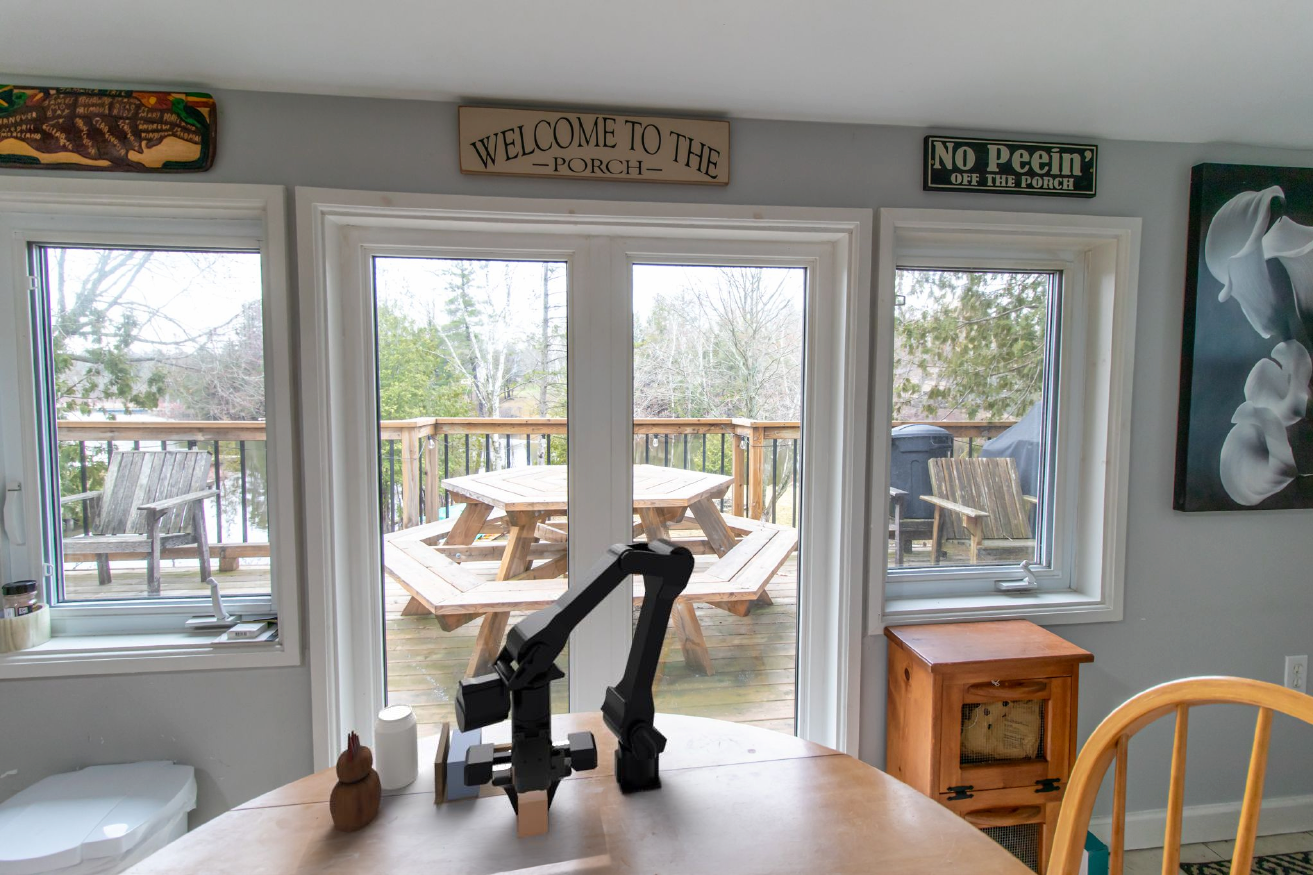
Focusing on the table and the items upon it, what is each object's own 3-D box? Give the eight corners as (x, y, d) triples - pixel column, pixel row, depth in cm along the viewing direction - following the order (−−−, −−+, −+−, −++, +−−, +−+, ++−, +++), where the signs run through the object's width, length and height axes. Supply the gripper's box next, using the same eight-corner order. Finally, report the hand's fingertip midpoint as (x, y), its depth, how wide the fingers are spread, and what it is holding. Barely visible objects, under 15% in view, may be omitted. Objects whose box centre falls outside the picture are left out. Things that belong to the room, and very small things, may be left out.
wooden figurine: (358, 844, 84) (354, 742, 83) (323, 837, 85) (318, 737, 84) (389, 810, 91) (386, 715, 89) (355, 805, 92) (351, 711, 90)
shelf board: (548, 751, 105) (547, 710, 105) (551, 793, 95) (551, 748, 94) (442, 765, 101) (441, 722, 101) (433, 810, 91) (432, 763, 90)
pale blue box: (482, 759, 101) (481, 725, 101) (478, 795, 92) (477, 758, 92) (454, 763, 100) (453, 729, 100) (448, 800, 91) (447, 762, 91)
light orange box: (545, 796, 94) (544, 760, 93) (547, 839, 85) (547, 799, 85) (518, 800, 93) (518, 763, 92) (518, 844, 84) (518, 803, 84)
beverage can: (422, 768, 100) (420, 699, 99) (412, 793, 94) (410, 720, 93) (383, 771, 100) (381, 702, 98) (371, 797, 93) (368, 723, 92)
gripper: (458, 752, 78) (461, 864, 79) (602, 734, 82) (602, 841, 83) (466, 706, 88) (468, 806, 90) (592, 693, 93) (593, 788, 94)
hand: (532, 811), depth 89 cm, fingers closed on light orange box, 4 cm apart
